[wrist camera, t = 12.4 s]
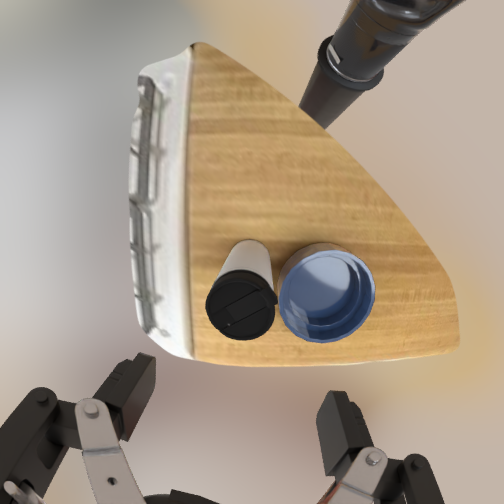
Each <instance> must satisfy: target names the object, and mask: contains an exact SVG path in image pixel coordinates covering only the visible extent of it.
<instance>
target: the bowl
mask: <svg viewBox="0 0 504 504" xmlns="http://www.w3.org/2000/svg"><path fill="white" fill-rule="evenodd" d="M277 294H278V303H279V310H280V314H281V316H282V319H283V321H284V323H285V325H286V326H287V327H288V328H289V329H290V330H291V331H292V332H293V333H294V334H295V335H296V336H298V337H300V338H302V339H304V340H306V341H309V342H316V343H328V342H334V341H338V340H340V339H342V338H345V337H347V336H349V335H351V334H352V333H353V332H354V331H356V330H357V329H358V328H359V327H360V326H361V325H362V324H363V323H364V321H365V320H366V318H367V317H368V316H369V314H370V312H371V309H372V306H373V303H374V300H375V284H374V280H373V277H372V274H371V271H370V270H369V269H368V267H367V266H366V265H365V263H364V262H363V261H362V260H361V259H359V258H358V257H356V256H355V255H354V254H352V253H351V252H349V251H348V250H346V249H345V248H343V247H341V246H339V245H335V244H331V243H317V244H311V245H309V246H307V247H304V248H302V249H300V250H298V251H297V252H296V253H295V254H294V255H292V256H291V257H290V258H289V259H288V260H287V261H286V263H285V265H284V266H283V268H282V270H281V271H280V274H279V278H278V282H277Z"/></svg>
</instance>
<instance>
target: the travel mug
mask: <svg viewBox="0 0 504 504" xmlns="http://www.w3.org/2000/svg"><path fill="white" fill-rule="evenodd" d="M277 303H278V299H277V296H276V294H275V293H274V289H273V280H272V271H271V262H270V255H269V252H268V250H267V248H266V247H265V246H264V245H263V244H262V243H260V242H259V241H256V240H251V239H248V240H243V241H241V242H239V243H237V244H236V245H235V246H234V247H233V249H232V250H231V252H230V254H229V256H228V258H227V259H226V261H225V263H224V265H223V267H222V269H221V271H220V272H219V274H218V276H217V278H216V280H215V282H214V284H213V285H212V288H211V290H210V292H209V294H208V296H207V299H206V306H205V309H206V312H207V315H208V316H209V320H210V321H211V323H212V324H213V326H214V327H215V328H216V329H218V330H220V332H221V333H222V334H223V335H225V336H226V337H228V338H231V339H235V340H252V339H255V338H258V337H260V336H262V335H263V334H265V333H266V332H267V331H268V330H269V328H270V327H271V326H272V323H273V321H274V317H275V306H274V305H276V304H277Z"/></svg>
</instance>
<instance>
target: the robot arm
mask: <svg viewBox="0 0 504 504" xmlns="http://www.w3.org/2000/svg"><path fill="white" fill-rule="evenodd" d="M464 1H466V0H350V3H349V5H348V7H347V9H346V11H345V13H344V15H343V17H342V20H341V22H340V24H339V26H338V28H337V30H336V32H335V34H334V36H333V38H332V40H331V42H330V44H329V45H328V47H327V50H326V58H327V61H328V63H329V65H330V67H331V68H332V69H333V70H334V71H335V72H336V73H337V74H338V75H339V76H341V77H342V78H344V79H346V80H349V81H352V82H357V83H364V82H368V81H370V80H372V79H373V78H374V77H375V76H376V75H377V74H378V72H379V71H380V70H382V69H383V68H384V66H385V65H387V64H388V63H389V62H390V61H391V60H392V59H393V58H394V57H395V56H396V55H397V54H398V53H399V52H400V51H401V50H402V49H403V48H404V47H405V46H406V45H407V44H409V43H410V42H411V41H412V40H413V39H414V38H415V37H416V36H417V35H418V34H419V33H420V32H422V31H423V30H424V29H426V28H428V27H430V26H431V25H432V24H434V23H435V22H436V21H437V20H438V19H440V18H441V17H443V16H444V15H445V14H447V13H448V12H450V11H451V10H452V9H454V8H455V7H457V6H459V5H460V4H462V3H463V2H464ZM155 374H156V358H155V357H153V356H150V355H147V354H144V353H141V352H140V353H138V354H137V356H136V357H135V359H134V360H133V361H131V360H128V359H126V360H124V361H122V362H120V363H118V365H117V366H116V367H115V369H114V370H113V372H111V374H110V375H109V377H108V378H107V379H106V380H105V381H104V383H103V384H102V385H101V387H100V388H99V389H98V391H97V392H96V393H95V395H94V396H93V397H92V398H86V399H83V400H80V401H79V402H78V403H71V402H66V401H61V400H58V399H57V396H56V394H55V393H54V392H53V391H52V390H50V389H48V388H45V387H39V388H35V389H33V390H31V391H30V392H29V393H28V395H27V396H26V397H25V398H24V399H23V401H22V402H21V403H20V404H19V405H18V406H17V408H16V409H15V410H14V411H13V413H12V414H11V415H10V416H9V417H8V419H7V420H6V421H5V422H4V424H3V425H2V426H1V428H0V504H46V503H45V502H44V500H43V497H44V495H45V493H46V491H47V489H48V487H49V485H50V483H51V481H52V479H53V477H54V475H55V473H56V471H57V469H58V468H59V465H60V464H61V462H62V460H63V458H64V456H65V455H66V452H67V451H68V449H69V447H72V448H76V449H81V450H83V452H82V456H83V460H84V463H85V467H86V471H87V474H88V478H89V480H90V484H91V487H92V490H93V493H94V496H95V498H96V501H97V504H219V503H216V502H213V501H211V500H209V499H206V498H204V497H201V496H198V495H194V494H189V493H185V492H181V491H177V490H173V489H172V490H171V493H170V495H169V494H157V495H149V496H145V497H143V496H142V494H141V492H140V490H139V487H138V485H137V483H136V481H135V479H134V477H133V474H132V472H131V470H130V467H129V465H128V462H127V460H126V457H125V455H124V453H123V450H122V449H121V447H120V444H119V441H120V439H122V440H125V441H127V442H128V441H129V438H130V437H131V435H132V433H133V431H134V429H135V427H136V425H137V423H138V421H139V419H140V417H141V415H142V413H143V411H144V409H145V407H146V405H147V403H148V401H149V399H150V397H151V395H152V393H153V391H154V387H155V379H156V378H155V376H156V375H155ZM365 424H366V423H365V420H364V419H363V415H362V412H361V410H360V408H359V407H358V406H357V405H356V404H355V403H354V402H350V401H349V399H348V396H347V393H346V392H345V391H331V390H330V391H329V392H328V393H327V395H326V397H325V399H324V401H323V403H322V405H321V407H320V409H319V411H318V413H317V418H316V425H317V430H318V436H319V441H320V446H321V452H322V458H323V463H324V469H325V475H326V476H335V481H334V482H333V483H332V485H331V486H330V487H329V489H328V490H327V492H326V493H325V494H324V495H323V497H322V498H321V499H320V500H319V502H318V503H317V504H372V503H373V501H374V504H406V502H407V504H445V503H444V500H443V498H442V495H441V492H440V490H439V487H438V484H437V482H436V479H435V477H434V474H433V472H432V469H431V467H430V464H429V462H428V460H427V459H426V458H425V457H424V456H422V455H420V454H410V455H408V456H407V457H406V458H405V459H404V460H395V459H390V458H387V456H386V454H385V453H384V452H383V451H382V450H381V449H378V448H376V447H374V445H373V442H372V439H371V436H370V434H369V431H368V428H367V426H366V425H365ZM404 494H405V497H404ZM405 498H406V501H405Z"/></svg>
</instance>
